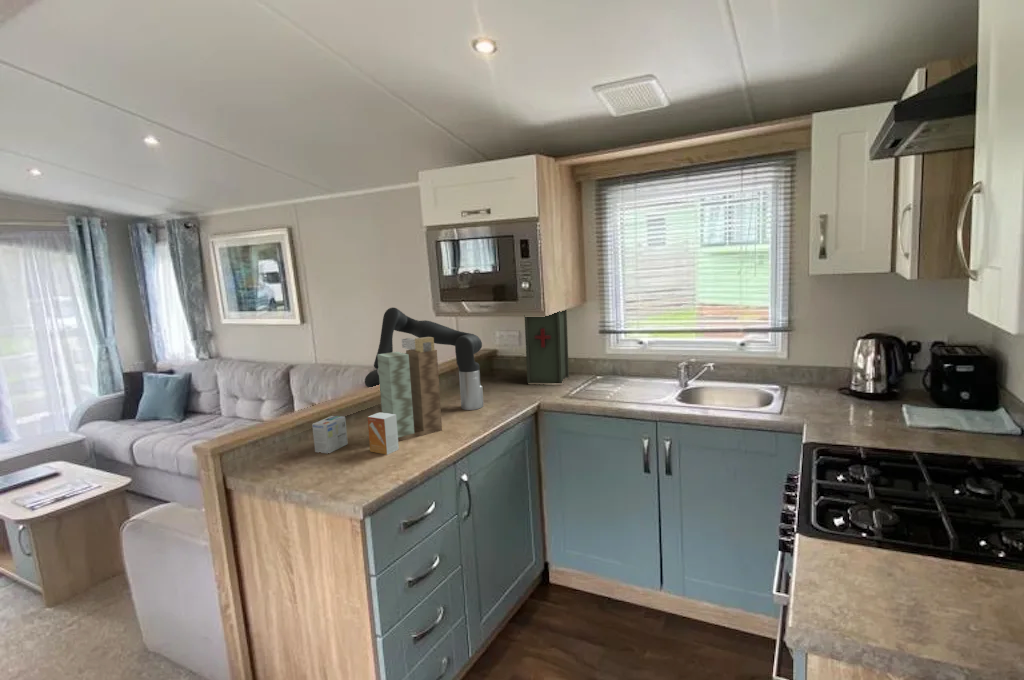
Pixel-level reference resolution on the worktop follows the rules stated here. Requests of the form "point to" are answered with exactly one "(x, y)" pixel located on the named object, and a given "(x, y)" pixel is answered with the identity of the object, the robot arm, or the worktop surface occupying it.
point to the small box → (383, 433)
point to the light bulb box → (330, 434)
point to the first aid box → (547, 348)
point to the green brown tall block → (411, 391)
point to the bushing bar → (419, 344)
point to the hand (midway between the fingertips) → (401, 352)
